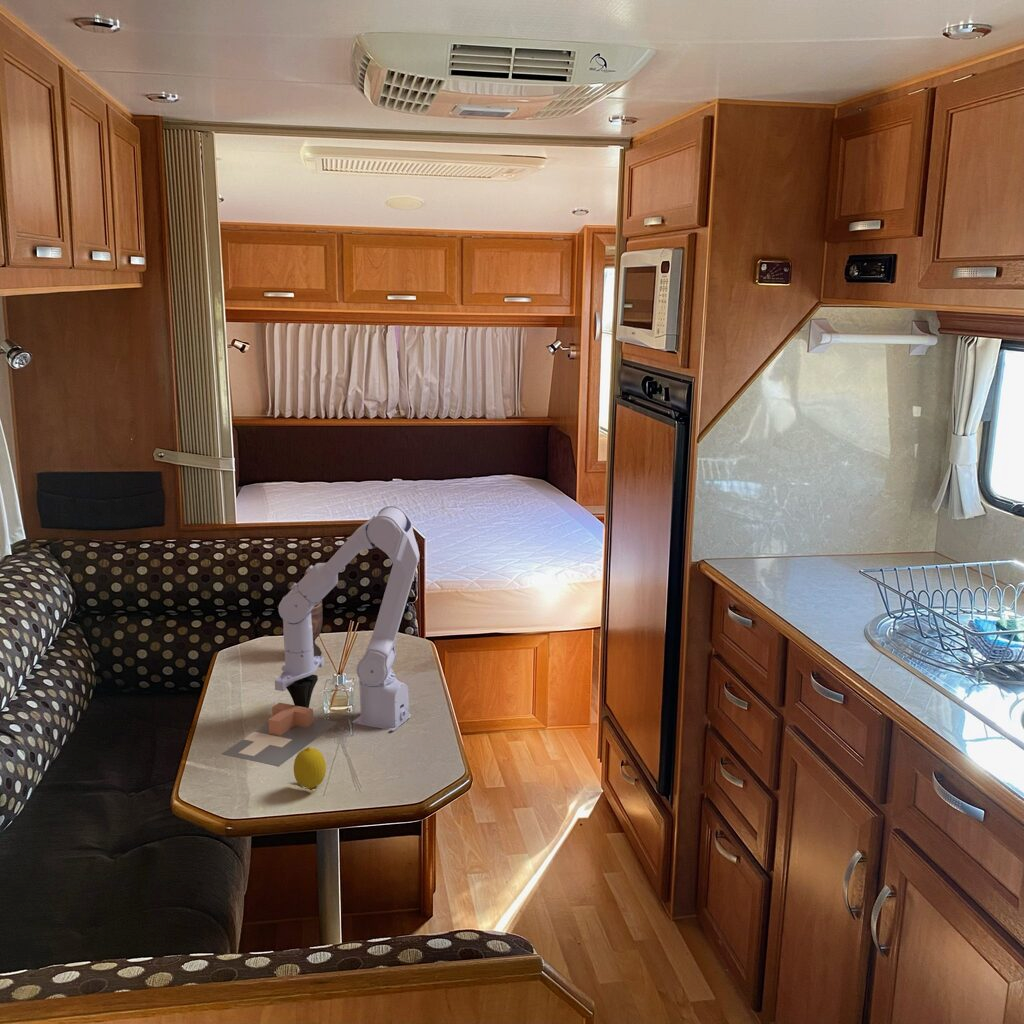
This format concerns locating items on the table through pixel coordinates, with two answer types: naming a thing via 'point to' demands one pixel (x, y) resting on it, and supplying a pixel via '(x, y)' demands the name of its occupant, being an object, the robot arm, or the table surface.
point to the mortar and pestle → (316, 625)
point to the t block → (289, 718)
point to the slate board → (278, 743)
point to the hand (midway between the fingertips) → (302, 710)
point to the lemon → (309, 768)
